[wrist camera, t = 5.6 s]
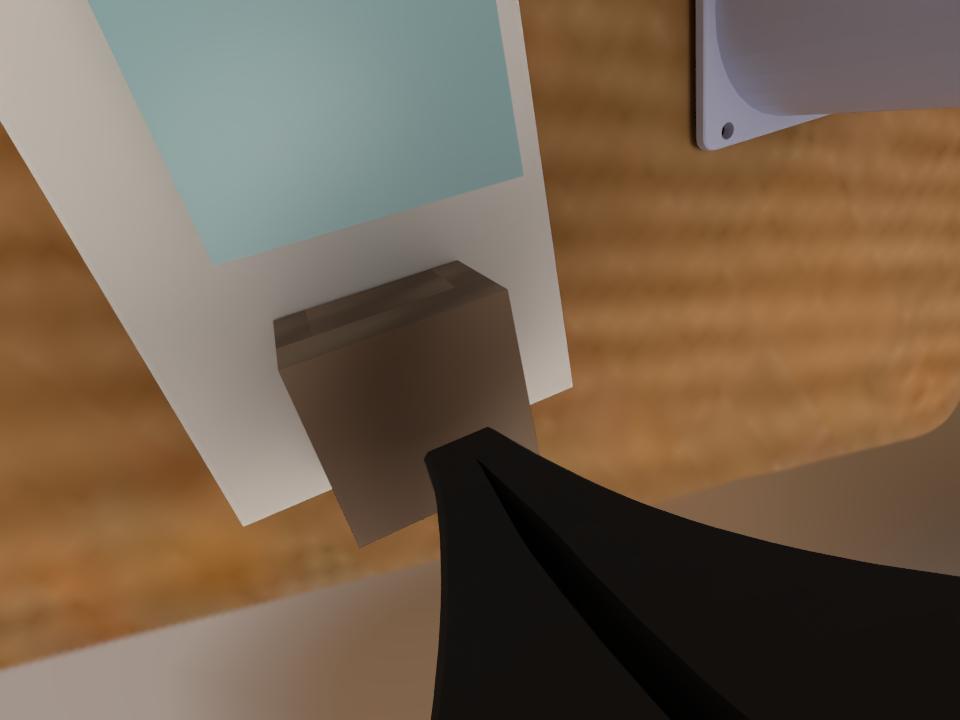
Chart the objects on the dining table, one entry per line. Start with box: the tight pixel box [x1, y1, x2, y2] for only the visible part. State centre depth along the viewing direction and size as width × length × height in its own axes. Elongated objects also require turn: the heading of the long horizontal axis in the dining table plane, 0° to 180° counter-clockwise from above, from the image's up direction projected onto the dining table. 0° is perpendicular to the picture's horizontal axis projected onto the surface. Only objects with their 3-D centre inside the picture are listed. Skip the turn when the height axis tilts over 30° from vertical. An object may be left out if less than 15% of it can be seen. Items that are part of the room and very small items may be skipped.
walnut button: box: [273, 260, 539, 548], centre depth 13 cm, size 5×5×3 cm
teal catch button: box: [88, 0, 524, 266], centre depth 8 cm, size 5×5×3 cm
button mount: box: [0, 0, 573, 527], centre depth 11 cm, size 11×21×4 cm, turn 10°
